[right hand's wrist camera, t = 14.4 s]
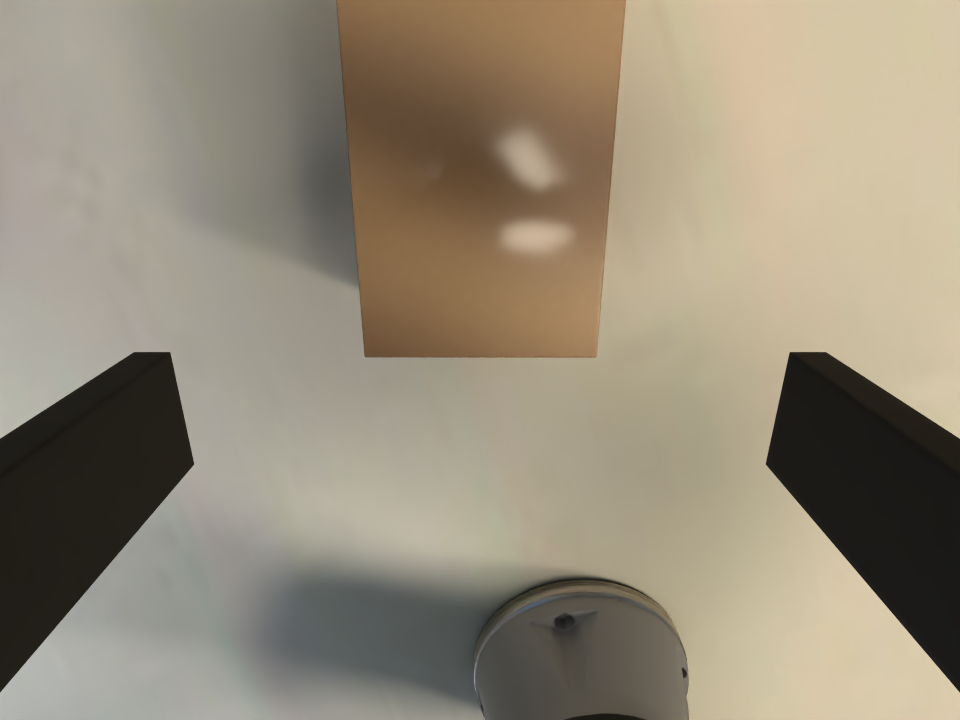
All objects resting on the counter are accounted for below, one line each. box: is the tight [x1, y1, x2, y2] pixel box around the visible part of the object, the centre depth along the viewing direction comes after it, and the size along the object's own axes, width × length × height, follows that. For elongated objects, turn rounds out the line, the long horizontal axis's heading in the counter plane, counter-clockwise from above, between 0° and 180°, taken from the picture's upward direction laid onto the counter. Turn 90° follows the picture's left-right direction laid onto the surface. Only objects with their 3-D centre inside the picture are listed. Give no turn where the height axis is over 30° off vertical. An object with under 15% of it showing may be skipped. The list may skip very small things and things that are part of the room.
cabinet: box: [336, 0, 626, 357], centre depth 25 cm, size 18×10×8 cm, turn 0°
